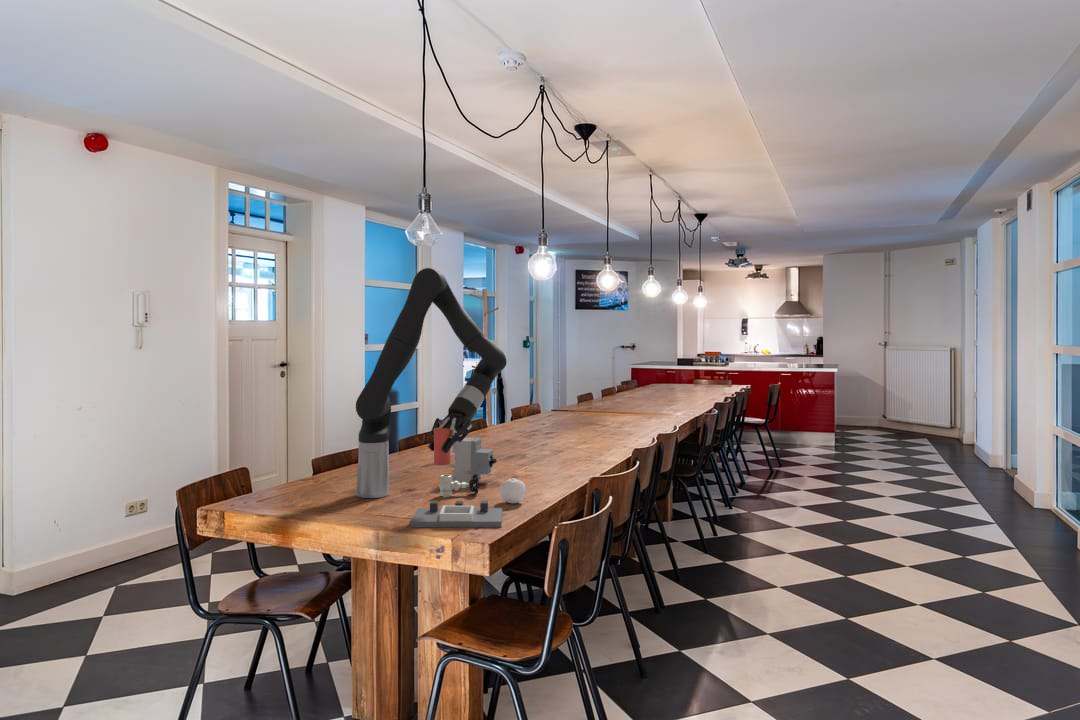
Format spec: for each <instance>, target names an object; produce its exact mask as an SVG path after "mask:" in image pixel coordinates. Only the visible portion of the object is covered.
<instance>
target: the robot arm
mask: <svg viewBox="0 0 1080 720" xmlns="http://www.w3.org/2000/svg"><path fill="white" fill-rule="evenodd" d="M432 304H434V305H435V307H437V308H438V309H439V310H440V312H441V313H442V315H443V316H444V317H445V319H446V320H447V322H448V325H450V327H451V329H452V331H453V333H454V334H455V335H456V337H457V338H458V340H459V341H460V342H461V344H462V345H463V346H464V347H465V349H466V350H467V351H468V352H469V353H470V354H477V355H478V356H479V357H481V359H480V360H479V361H478V363H477V365H476V366H475V368H474V370H473V372H472V374H471V376H470V377H469V379H468V380H467V381H466V383H465V384H464V386H463V388H462V389H460V391H459V392H458V393H457V395H456V397H455V398H454V400H453V401H452V402H451V404H450V406H449V407H448V409H447V412H448V413H447V415H446V416H445V417H444V418H443V419H440V418H439V417H437V418H436V419H435V421H434V422H433V425H432V428H431V431H430V435H431V436H432V437H433V438H432V439H431V441H430V442H429V444H428V449H429V451H431V452H434V428H450V435H449V438H447V440H446V441H445V443H444V445H443V446H442V448H441V449H442V451H443V452H444V453H447V452H448V451H449V450H450V451H451V449H452V447H453V444H454V443H456V442H457V441H459V442H461V441H462V440H463V439H464V438H467V436H468V435H469V434H470V433H471V431H472V430H473V429H474V426H473V424H472V423H471V422H472V420H473V419H474V418H475V415H476V414H477V412H478V411H479V409H480V407H481V406H482V404H483V401H484V399H485V398H486V396H487V395H488V393H489V391H490V389H491V387H492V384H493V382H494V380H495V379H496V377H497V376H498V375H499V374H500V373H501V372H502V371H503V370H504V369H505V368H506V366H507V361H508V359H507V357H506V355H505V353H504V352H503V350H502V349H501V348H500V347H499V346H498V345H496V344H495V342H493V341H491V340H490V339H489V338H487V337H486V335H485V334H484V333H483V331H482V330H481V328H480V327H479V326H478V325H477V323H476V322H475V321H474V320H473V319H472V317H471V316H470V315H469V314H468V312H467V311H466V310H465V309H464V308H463V306H462V305H461V303H460V302H459V300H458V299H457V297H456V296H455V293H454V292H453V291H452V288H451V287H450V284H449V283H448V281H447V279H446V277H445V275H444V274H443V273H442V272H440V271H439V270H436V269H434V268H431V267H425V268H422V269H421V270H419V271H418V272H417V273H415V276H414V278H413V280H412V283H411V286H410V289H409V291H408V293H407V298H406V301H405V303H404V305H403V307H402V309H401V311H400V313H399V314H398V317H397V319H396V320H395V322H394V324H393V327H392V329H391V331H390V332H389V334H388V337H387V338H386V340H385V343H384V346H383V348H382V351H381V353H380V355H379V356H378V359H377V361H376V364H375V366H374V369H373V372H372V373H371V375H370V377H369V379H368V381H367V383H366V384H365V386H364V387H363V389H362V390H361V392H360V394H359V396H358V397H357V399H356V402H355V412H356V414H357V415H358V417H359V418H360V419H362V421H361V428H360V430H359V432H358V465H357V466H356V497H357V498H362V499H378V498H379V499H380V498H384V497H387V496H388V495H389V474H390V473H389V471H390V470H389V469H390V468H389V452H390V451H389V448H390V445H389V438H390V432H391V425H392V424H391V423H392V422H391V420H392V403H391V399H390V392H391V390H392V387H393V386H394V384H395V382H396V381H397V379H398V378H399V377H400V375H401V374H402V373H403V371H404V370H405V369H406V367H407V366H408V365H409V363H410V361H411V359H412V358H413V356H414V353H415V352H416V350H417V347H418V345H419V342H420V340H421V335H422V332H423V327H424V326H423V325H424V321H425V318H426V315H427V313H428V311H429V309H430V307H431V305H432Z"/></svg>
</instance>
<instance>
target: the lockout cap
mask: <svg viewBox="0 0 1080 720" xmlns="http://www.w3.org/2000/svg"><path fill="white" fill-rule="evenodd" d="M449 435H450V428H434V451H433V464H434V465H435V466H448V465H450V464H451V449H450V450H449V451H448V452H447V453H444V452H443V451H442V449H441V448H442V446H443V445H444V443H445V441H446V440H447V438H449Z"/></svg>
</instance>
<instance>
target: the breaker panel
mask: <svg viewBox="0 0 1080 720" xmlns="http://www.w3.org/2000/svg"><path fill="white" fill-rule="evenodd" d="M454 503H455V505H442V507H439V500H430V502H429V507H418V508H417V509H416V510H415V512H414V514H413V515H412V517H411V519H410V521H409V527H410V528H502V525H503V523H502V522H503V507H489V500H480V506H479V507H475V505H464V500H455V502H454Z"/></svg>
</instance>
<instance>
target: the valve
mask: <svg viewBox="0 0 1080 720" xmlns="http://www.w3.org/2000/svg"><path fill="white" fill-rule="evenodd" d="M473 478H474V479H472V480H470V482H469V483H466V482H461V483H459V482H458V481H454V482H453V480H452V474H441V475H440V476H439V485H438V487H439V490H440V491H439V496H443V497H442V498H451V497H452V496H453V491H452V490H454V491H458V490H459V489H460V488H461V489H466V488H469V489H470V491H471V492H472V493H473V495H474V494H477V495H478V494H479V486H480V484H479V482H478V478H477V474H474V476H473ZM451 495H452V496H451ZM450 496H451V497H450Z"/></svg>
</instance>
